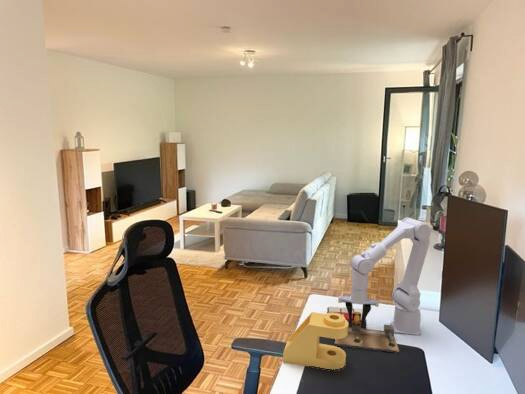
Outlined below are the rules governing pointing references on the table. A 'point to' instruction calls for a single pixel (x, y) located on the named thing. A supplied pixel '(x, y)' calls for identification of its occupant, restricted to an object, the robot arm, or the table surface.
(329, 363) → the yellow clevis bracket
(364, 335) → the board
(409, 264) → the robot arm
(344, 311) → the button panel
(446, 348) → the table surface
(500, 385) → the table surface
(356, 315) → the slider leg
